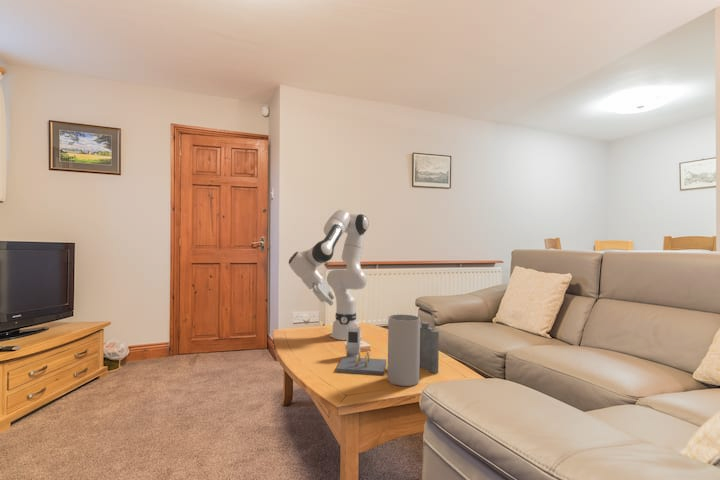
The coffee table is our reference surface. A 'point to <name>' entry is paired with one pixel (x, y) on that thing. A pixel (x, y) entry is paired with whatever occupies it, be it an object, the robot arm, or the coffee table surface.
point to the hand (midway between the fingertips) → (332, 301)
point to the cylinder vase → (403, 349)
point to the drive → (353, 341)
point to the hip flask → (429, 348)
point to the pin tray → (362, 365)
